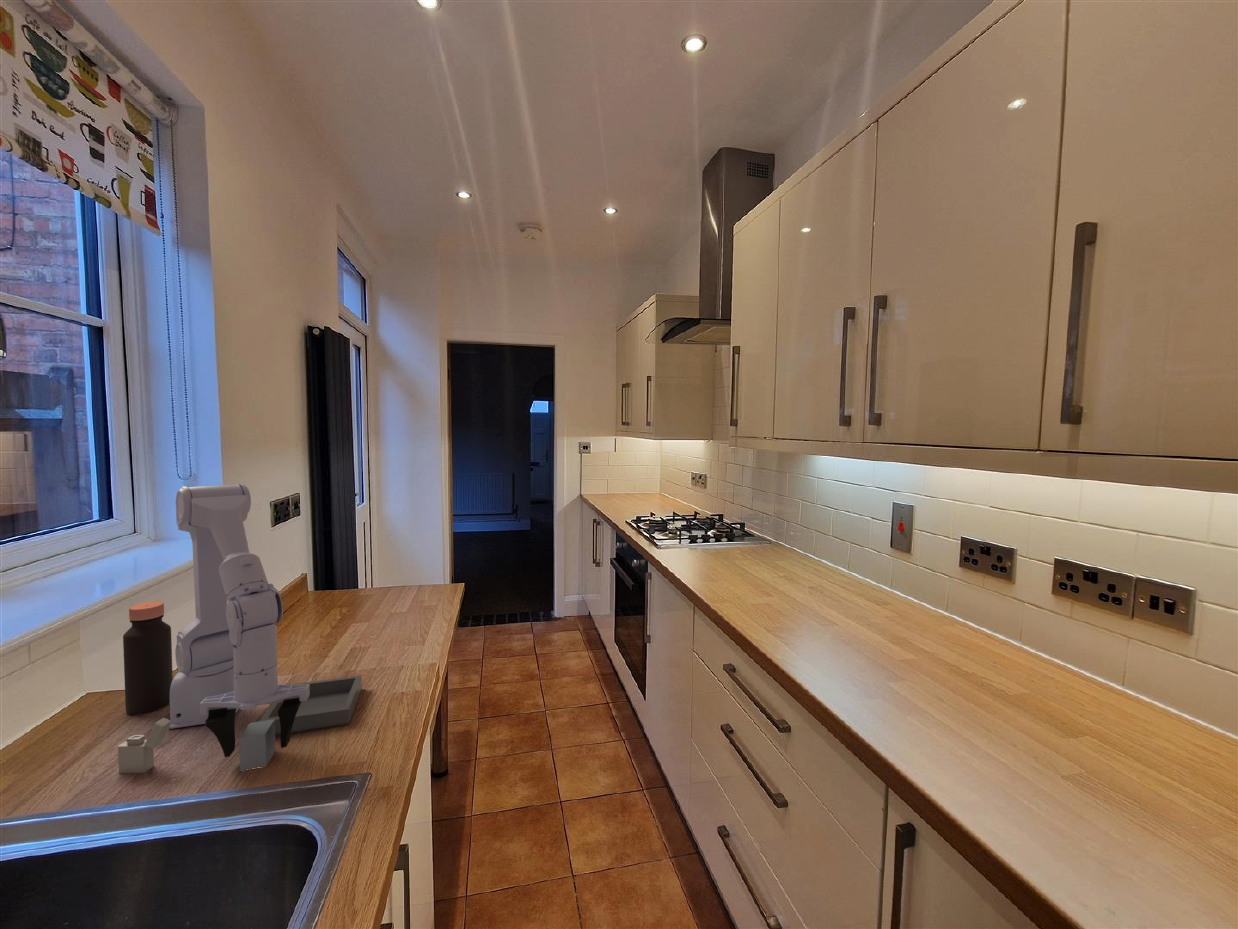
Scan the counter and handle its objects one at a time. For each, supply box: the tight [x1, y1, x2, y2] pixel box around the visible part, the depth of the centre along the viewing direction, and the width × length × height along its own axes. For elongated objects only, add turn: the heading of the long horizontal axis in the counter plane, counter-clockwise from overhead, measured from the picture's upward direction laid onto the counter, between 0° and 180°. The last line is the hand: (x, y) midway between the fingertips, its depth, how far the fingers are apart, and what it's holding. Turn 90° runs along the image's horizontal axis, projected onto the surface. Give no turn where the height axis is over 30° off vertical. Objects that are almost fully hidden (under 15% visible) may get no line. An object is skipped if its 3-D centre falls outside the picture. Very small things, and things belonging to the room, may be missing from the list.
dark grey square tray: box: [259, 675, 363, 737], centre depth 96 cm, size 14×14×3 cm
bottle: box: [122, 601, 174, 715], centre depth 97 cm, size 7×7×20 cm
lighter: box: [117, 717, 172, 774], centre depth 79 cm, size 7×2×8 cm, turn 91°
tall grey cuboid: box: [238, 719, 276, 772], centre depth 81 cm, size 4×4×6 cm
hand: (258, 748), depth 81 cm, fingers open, 7 cm apart
